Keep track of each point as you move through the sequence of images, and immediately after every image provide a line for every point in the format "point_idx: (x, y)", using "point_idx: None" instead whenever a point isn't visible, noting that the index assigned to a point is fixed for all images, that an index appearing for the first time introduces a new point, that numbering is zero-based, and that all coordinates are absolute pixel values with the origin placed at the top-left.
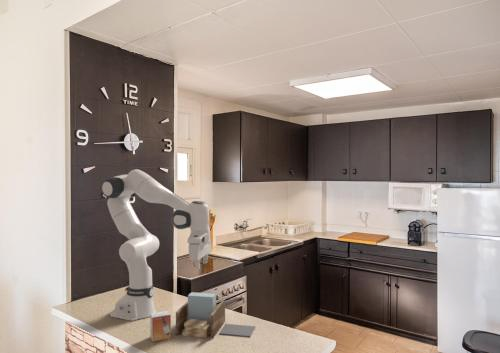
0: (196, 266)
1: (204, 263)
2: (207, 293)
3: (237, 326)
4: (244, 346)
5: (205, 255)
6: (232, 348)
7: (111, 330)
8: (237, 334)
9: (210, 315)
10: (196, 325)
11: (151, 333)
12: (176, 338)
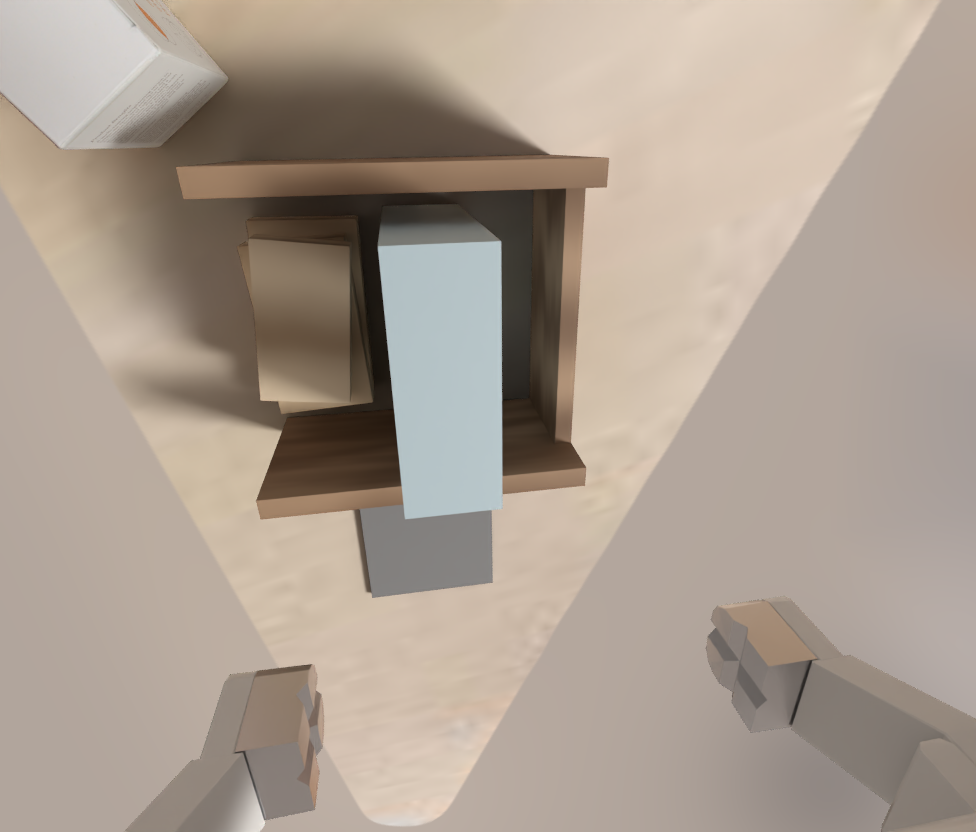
0: (214, 746)
1: (719, 630)
2: (495, 434)
3: None
4: (264, 601)
5: (902, 809)
6: (218, 562)
7: None
8: (368, 541)
9: (256, 500)
10: (257, 350)
11: None
12: None
